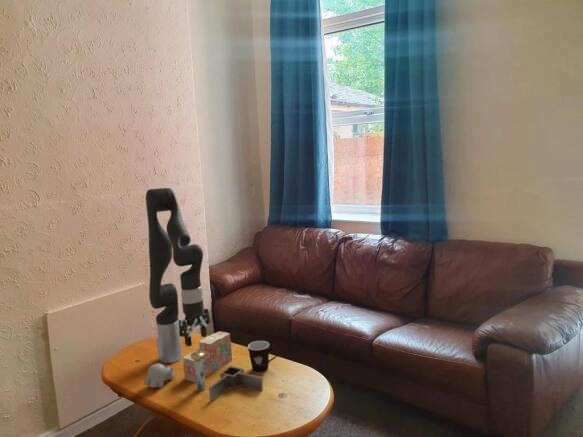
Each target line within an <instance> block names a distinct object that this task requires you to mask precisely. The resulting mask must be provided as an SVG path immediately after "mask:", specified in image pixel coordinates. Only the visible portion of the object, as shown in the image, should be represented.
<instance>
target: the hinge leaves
mask: <svg viewBox="0 0 583 437" xmlns="http://www.w3.org/2000/svg"><path fill="white" fill-rule="evenodd" d="M219 377H220V378H219V379H218V380H217V381H216V382H214V383H213V384H212V385H210V387H209V388H208V391H209V392H208V393H209V401H210V402H214V401H215V400H216V399H217V398H219V396H221V395H222V394H224V392H226V391H227V390H228V389H234V390H236V389H237V388H238V387H243V388H247V389H251V390H255V391H260V392H263V390H264V389H263V387H264V384H263V377H262V376H259V375H253V374H249V373H245V370H244V368H243V367H241V368H240V367H236V366H231V365H230V366H228V367H226V368H225V369H224V370H223V371H222V372H220V374H219Z"/></svg>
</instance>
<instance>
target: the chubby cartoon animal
mask: <svg viewBox="0 0 583 437" xmlns="http://www.w3.org/2000/svg"><path fill="white" fill-rule="evenodd" d="M169 366H170V365H167V366H165V365H164V364H163V363H154V364H152V365H151V366H150V367H149V368H148V370H147V374H146V375H147V377H146V378H145V379H144V385H145V386H149V387H150V388H153V389H154V388H163V387H164V381H165V379H167V380H169V381H171V380H173V379H174V378H175V376H174V375H175V373H176V371H175V370H174V367H171V368H170V367H169Z"/></svg>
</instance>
